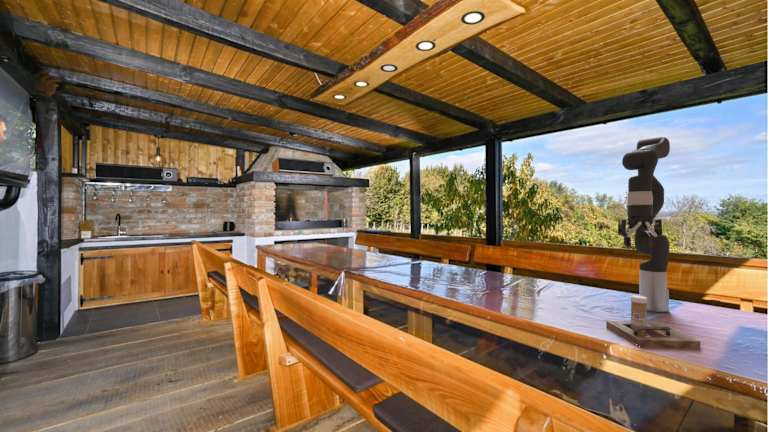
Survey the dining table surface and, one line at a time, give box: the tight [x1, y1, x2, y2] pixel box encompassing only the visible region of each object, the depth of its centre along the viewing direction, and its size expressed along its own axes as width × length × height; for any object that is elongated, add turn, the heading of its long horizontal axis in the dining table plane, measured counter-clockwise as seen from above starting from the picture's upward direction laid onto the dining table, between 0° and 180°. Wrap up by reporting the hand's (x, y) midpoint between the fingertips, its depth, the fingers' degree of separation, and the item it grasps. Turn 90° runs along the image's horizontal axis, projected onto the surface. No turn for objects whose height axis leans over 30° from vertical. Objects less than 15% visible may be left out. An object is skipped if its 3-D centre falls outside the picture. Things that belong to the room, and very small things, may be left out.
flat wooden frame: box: [606, 320, 701, 350], centre depth 112 cm, size 18×18×2 cm
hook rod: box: [633, 325, 672, 336], centre depth 108 cm, size 11×1×3 cm, turn 85°
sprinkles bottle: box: [630, 294, 648, 337], centre depth 115 cm, size 5×5×14 cm
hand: (639, 246), depth 122 cm, fingers open, 8 cm apart
